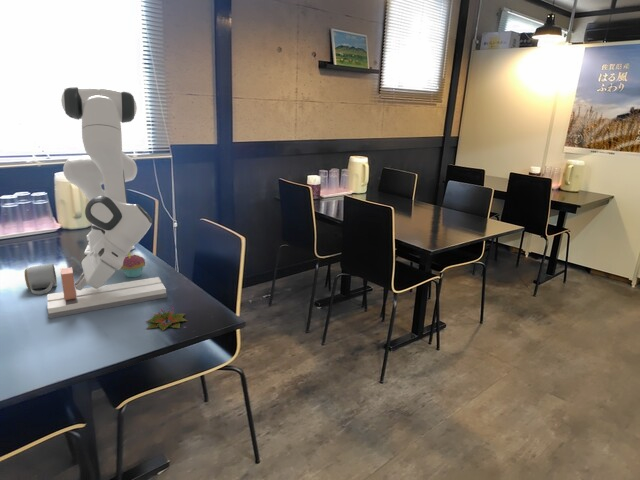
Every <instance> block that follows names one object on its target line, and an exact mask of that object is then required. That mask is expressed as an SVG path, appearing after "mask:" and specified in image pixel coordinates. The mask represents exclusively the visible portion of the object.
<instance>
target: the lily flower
mask: <svg viewBox="0 0 640 480" xmlns="http://www.w3.org/2000/svg"><path fill="white" fill-rule="evenodd" d="M170 307H171V308H170V309H168V310H167V311H166V310H165V308H164V307H162V308H159V310H160V312H162V313H160V312H158V313H154V316H153V317H151V318H150V319H148V320H146V321H145V322H146V323H148V322H149V323H150V324H149V325H148V327H146V330H147V329H155V328H160V330H161V331H162V332H164V330H166V329H167V328H175V329H181V323H180V322H188V320H187V319H185V318H184V316H185V315H186V313H176V314H175V312H174V308H173V307H174V306H170ZM169 321H170V322H169ZM172 324H173V325H172Z"/></svg>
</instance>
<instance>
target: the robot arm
mask: <svg viewBox="0 0 640 480" xmlns="http://www.w3.org/2000/svg"><path fill="white" fill-rule="evenodd" d="M60 101H61V106H62V109H63V110H64V112H65V114H66V116H68V117H69V118H72V119H74V120H78V121H79V120H81V138H82V144H83V147H84V151H85V152H86V154H87V155H78V156H74V157H70V158H68V159H66V161H65V162H64V164H63V167H62V168H63V169H62V171H63V175H64V177H65V179H66V180H67V181H68V182H69V183H70V184H72V185H73V186H75V187H77V188H78V189H80V190H81V192H82V193H83V195H84V196H85V197H86V199H87V201H88V202H87V204H86V205H85V208H84V209H85V210H84V215H85V218H86V219H87V221H88V222H89V223H90V228H91V230H90V231H89V232H88V234H86V241H88V242H87V245H86V248H85V250H84V255H85V257H84V258H83V260H82V261H81V267H82V273H81V274H80V276H79V278H78V280H77V281H76V282H74V284H75V290H82V289H84V288H85V287H86V286H87V285H88V286H90V288H91V287H93V288H95V289H97V288H99V287H101V286H104V284H105V283H106V282H107V281H108V280H109V279H110V278H111V277H112V276H113V275H114V274H115V273H116V270H117V271H119V270H121V269H122V268H121V267H122V266H123V261H124V259H125V257H127V256H128V253H129V252H130V253H131V251H132V250H135V249H136V247H135V245H136V244H138V243H140V241H141V240H142V239H143V238H144V236H145V235H146V234H147V233H148V231H149V229H150V228H151V226H152V225H153V219H152V218H151V216H150V214H149V213H148V212H147V211H146V210H145V209H144V208H143V207H142V206H141V205H139V204H137V203H135V204H134V203H129V202H128V196H127V189H126V183H127V182H131V181H133V180H135V178H136V176H137V174H138V166H137V164H136V161H135V160H134V159H133V158H132V157H131V156H129V155H127V154H126V153H125V152H124V151H123V138H122V125H121V123H122V124H124V123H130V122H132V121H133V120H134V119H135V116H136V114H137V110H138V109H137V108H138V107H137V103H136V100H135V98H134V95H133V94H132V93H131V92H129V91H126V90H122V89H120V90H119V89H115V88H109V87H103V86H102V87H101V86H99V87H96V86H78V85H70V86H66V87H65V88H64V90H63V92H62V94H61V100H60ZM102 186H103V187H104V189H103V187H102Z"/></svg>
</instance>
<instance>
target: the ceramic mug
mask: <svg viewBox="0 0 640 480" xmlns="http://www.w3.org/2000/svg"><path fill="white" fill-rule="evenodd" d="M57 279H58V278H57V272H56V268H55V265H54V263H52V262H51V263H45V264H40V265H35V266H34V265H33V266H30V267H27V268H25V269H24V281H25V285H26V287H27V288H28V289H29V290H30V291H31V293H32V294H34V295H37V296H38V295H39V296H40V295H44V294H47V293H49V292H50V291H51V290H52V288H53V287H57V285H58V280H57ZM37 289H43V290H37Z"/></svg>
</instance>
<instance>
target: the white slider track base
mask: <svg viewBox="0 0 640 480" xmlns="http://www.w3.org/2000/svg"><path fill="white" fill-rule="evenodd" d="M75 291H76V298H75V299H69V300H65V299H64V292H63V291H60V292H54V293H53V292H52V293H48V294H47V293H46V294H47V295H46V296H47V298H46V299H47V314H48V318H49V319H55V318H60V317H64V316H65V317H66V316H70V315H75V314H81V313H88V312H94V311H99V310H104V309H109V308H114V307H120V306H125V305H130V304H137V303H142V302H148V301H153V300H158V299H164V298H167V288H166V287H165V285H164V284H163V282H162V280H161V278H160V277H159V276H156V277H149V278H144V279H137V280H136V279H135V280H129V281H123V282H119V283H118V282H117V283H111V284H106V285H104V284H103V285H102V286H101V287H99V288H97V289H95V288H93V287H91V286H90V287H86V288H85V287H84V288H83V289H82V290H78V289H75Z"/></svg>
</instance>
